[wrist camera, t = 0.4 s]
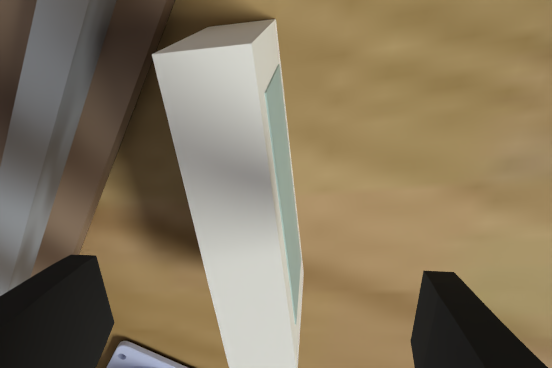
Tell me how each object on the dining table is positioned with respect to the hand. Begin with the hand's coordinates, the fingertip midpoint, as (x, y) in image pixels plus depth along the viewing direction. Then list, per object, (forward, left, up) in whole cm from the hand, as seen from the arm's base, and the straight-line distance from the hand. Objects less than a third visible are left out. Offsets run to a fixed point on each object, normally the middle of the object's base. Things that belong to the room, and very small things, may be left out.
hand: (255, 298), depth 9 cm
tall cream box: (-2, 0, -10) cm, 10 cm away
